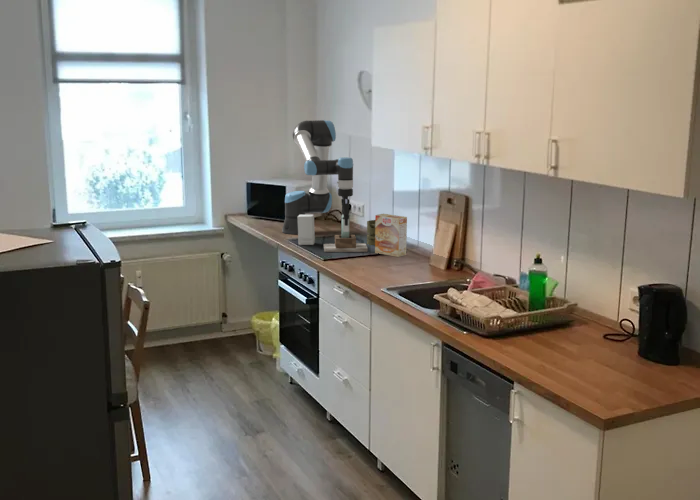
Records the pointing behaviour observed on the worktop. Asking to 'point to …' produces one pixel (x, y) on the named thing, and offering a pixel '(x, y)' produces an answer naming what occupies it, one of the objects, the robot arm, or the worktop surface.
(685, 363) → the worktop surface
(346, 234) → the peg
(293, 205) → the robot arm
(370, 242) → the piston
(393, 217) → the coffeecake box
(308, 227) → the skincare box
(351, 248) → the socket board
